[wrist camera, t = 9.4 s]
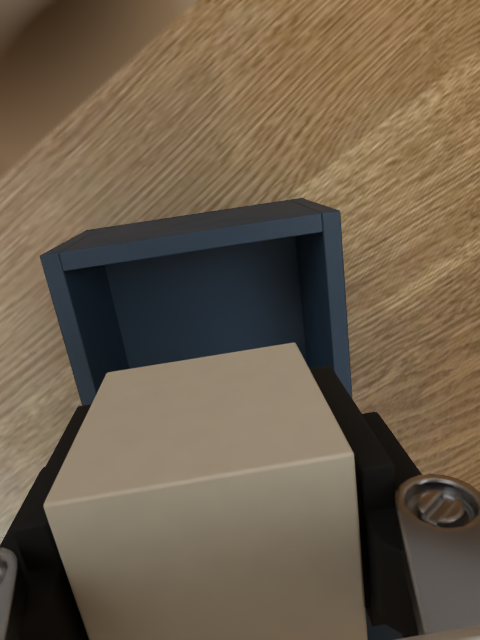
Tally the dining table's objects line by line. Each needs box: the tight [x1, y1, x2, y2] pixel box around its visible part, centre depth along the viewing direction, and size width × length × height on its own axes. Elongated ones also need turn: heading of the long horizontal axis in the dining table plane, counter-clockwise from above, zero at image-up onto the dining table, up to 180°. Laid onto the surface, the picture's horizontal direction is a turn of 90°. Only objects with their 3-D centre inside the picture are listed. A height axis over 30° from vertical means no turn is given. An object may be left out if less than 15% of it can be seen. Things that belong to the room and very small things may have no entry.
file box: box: [40, 198, 352, 406], centre depth 25 cm, size 16×13×8 cm
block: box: [44, 343, 368, 640], centre depth 9 cm, size 4×4×4 cm
